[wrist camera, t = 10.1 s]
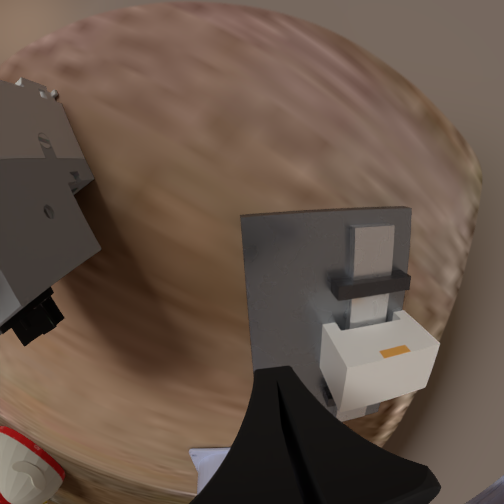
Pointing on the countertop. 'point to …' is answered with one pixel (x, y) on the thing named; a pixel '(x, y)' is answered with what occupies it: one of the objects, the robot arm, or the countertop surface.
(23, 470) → the kitchen timer
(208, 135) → the countertop surface
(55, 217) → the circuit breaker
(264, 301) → the rail board
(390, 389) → the block
